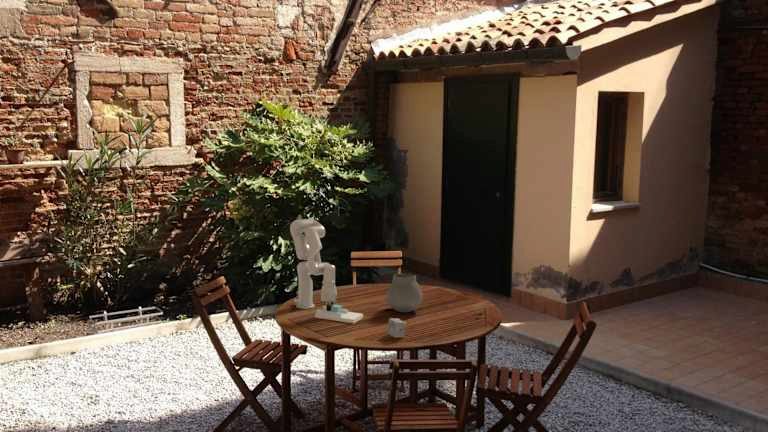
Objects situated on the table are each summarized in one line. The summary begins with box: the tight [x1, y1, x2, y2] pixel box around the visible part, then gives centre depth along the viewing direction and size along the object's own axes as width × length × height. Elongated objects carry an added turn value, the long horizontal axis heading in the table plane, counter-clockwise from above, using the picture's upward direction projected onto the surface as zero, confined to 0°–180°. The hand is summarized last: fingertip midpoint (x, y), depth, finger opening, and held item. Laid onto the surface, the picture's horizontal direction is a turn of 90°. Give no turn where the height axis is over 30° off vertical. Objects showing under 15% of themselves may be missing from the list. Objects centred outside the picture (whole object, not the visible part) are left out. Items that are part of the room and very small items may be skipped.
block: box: [331, 304, 343, 313], centre depth 461 cm, size 5×5×5 cm
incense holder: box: [386, 317, 408, 339], centre depth 426 cm, size 10×8×10 cm
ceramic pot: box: [385, 273, 423, 313], centre depth 478 cm, size 24×24×25 cm
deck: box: [314, 305, 364, 324], centre depth 461 cm, size 28×14×4 cm, turn 67°
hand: (329, 310), depth 464 cm, fingers closed
